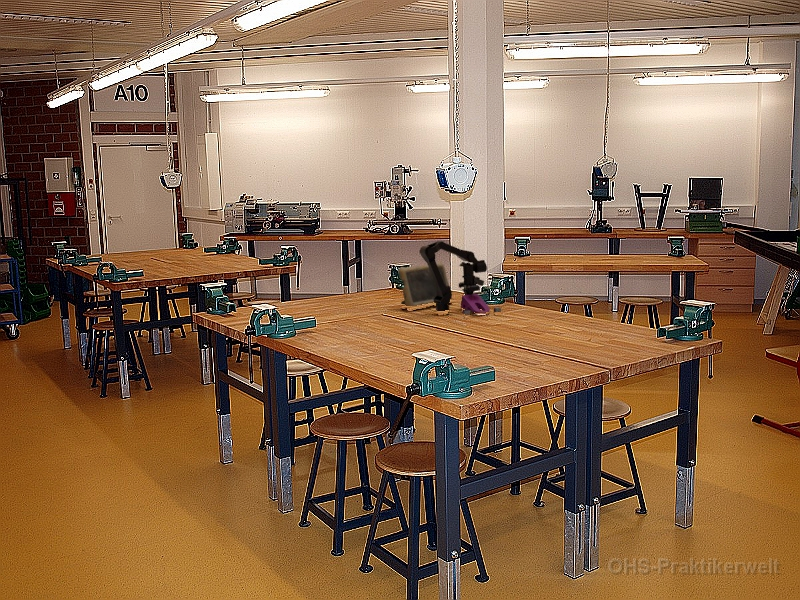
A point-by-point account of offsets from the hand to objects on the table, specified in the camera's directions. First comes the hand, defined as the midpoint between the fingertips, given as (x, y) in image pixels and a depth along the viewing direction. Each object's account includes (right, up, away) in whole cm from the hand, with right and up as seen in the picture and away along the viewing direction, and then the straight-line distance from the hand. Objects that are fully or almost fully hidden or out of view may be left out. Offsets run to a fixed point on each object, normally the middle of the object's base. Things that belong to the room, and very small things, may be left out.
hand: (469, 301), depth 453 cm
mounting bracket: (+3, -7, -10) cm, 12 cm away
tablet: (-23, -3, +21) cm, 32 cm away
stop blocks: (+5, -8, -19) cm, 21 cm away
